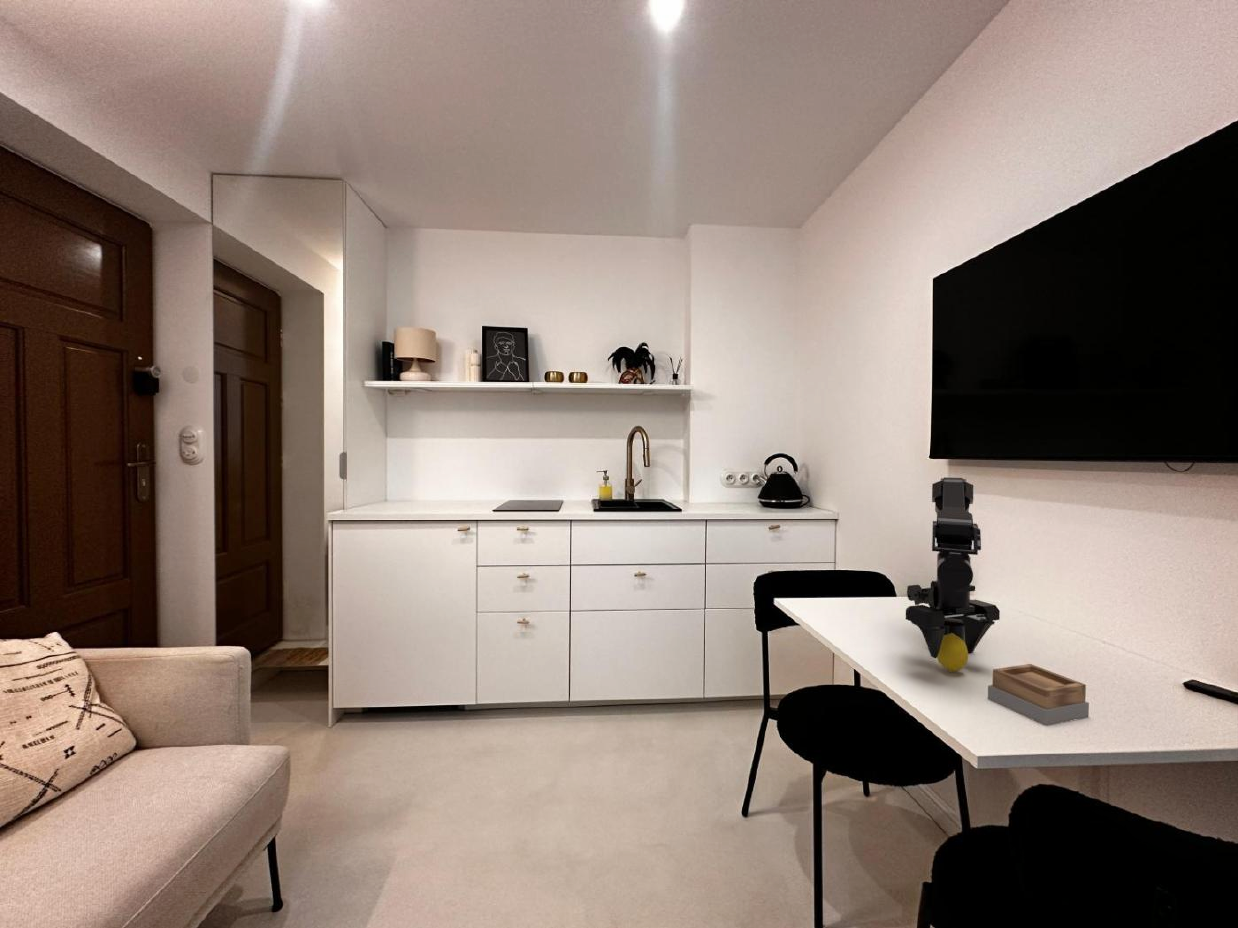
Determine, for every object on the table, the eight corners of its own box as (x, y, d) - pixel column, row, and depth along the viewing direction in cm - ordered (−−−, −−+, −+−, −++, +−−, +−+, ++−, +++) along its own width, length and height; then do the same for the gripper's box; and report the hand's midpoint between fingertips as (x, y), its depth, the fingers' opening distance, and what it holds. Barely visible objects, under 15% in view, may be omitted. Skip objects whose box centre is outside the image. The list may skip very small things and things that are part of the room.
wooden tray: (1029, 679, 100) (1030, 663, 100) (1085, 702, 91) (1085, 684, 91) (992, 685, 97) (992, 669, 97) (1045, 709, 88) (1046, 691, 88)
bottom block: (1028, 694, 100) (1028, 678, 100) (1088, 720, 91) (1088, 702, 91) (987, 701, 98) (988, 685, 97) (1045, 728, 88) (1046, 710, 88)
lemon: (963, 668, 111) (964, 630, 111) (971, 679, 106) (971, 639, 105) (932, 665, 113) (933, 627, 113) (939, 675, 107) (939, 635, 107)
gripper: (953, 567, 119) (952, 637, 120) (885, 572, 114) (884, 645, 114) (1002, 578, 109) (1000, 655, 109) (929, 585, 103) (928, 665, 103)
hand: (951, 654), depth 109 cm, fingers open, 9 cm apart
